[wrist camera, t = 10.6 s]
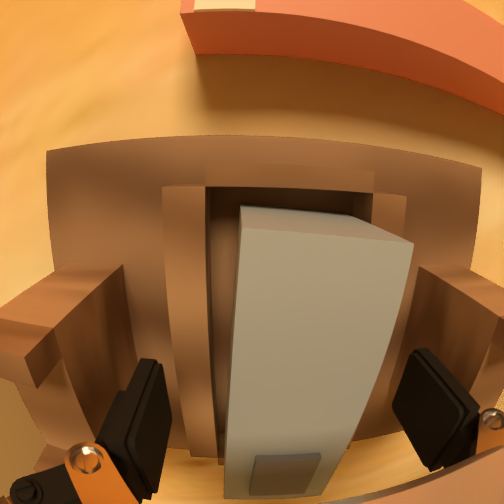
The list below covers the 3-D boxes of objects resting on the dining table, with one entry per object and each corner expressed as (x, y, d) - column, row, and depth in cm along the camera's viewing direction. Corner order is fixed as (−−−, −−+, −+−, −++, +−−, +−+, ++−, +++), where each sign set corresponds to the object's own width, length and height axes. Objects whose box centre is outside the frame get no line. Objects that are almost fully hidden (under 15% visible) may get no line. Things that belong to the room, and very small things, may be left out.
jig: (59, 151, 12) (-80, 153, 4) (468, 167, 13) (593, 183, 5) (110, 426, 17) (73, 522, 8) (408, 417, 18) (457, 499, 9)
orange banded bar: (202, -5, 11) (191, -59, 6) (502, 69, 12) (548, 59, 7) (196, 56, 12) (178, 10, 7) (509, 120, 13) (558, 118, 8)
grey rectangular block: (240, 203, 12) (242, 230, 6) (345, 213, 12) (420, 246, 7) (225, 420, 15) (223, 503, 10) (302, 420, 15) (321, 499, 10)
